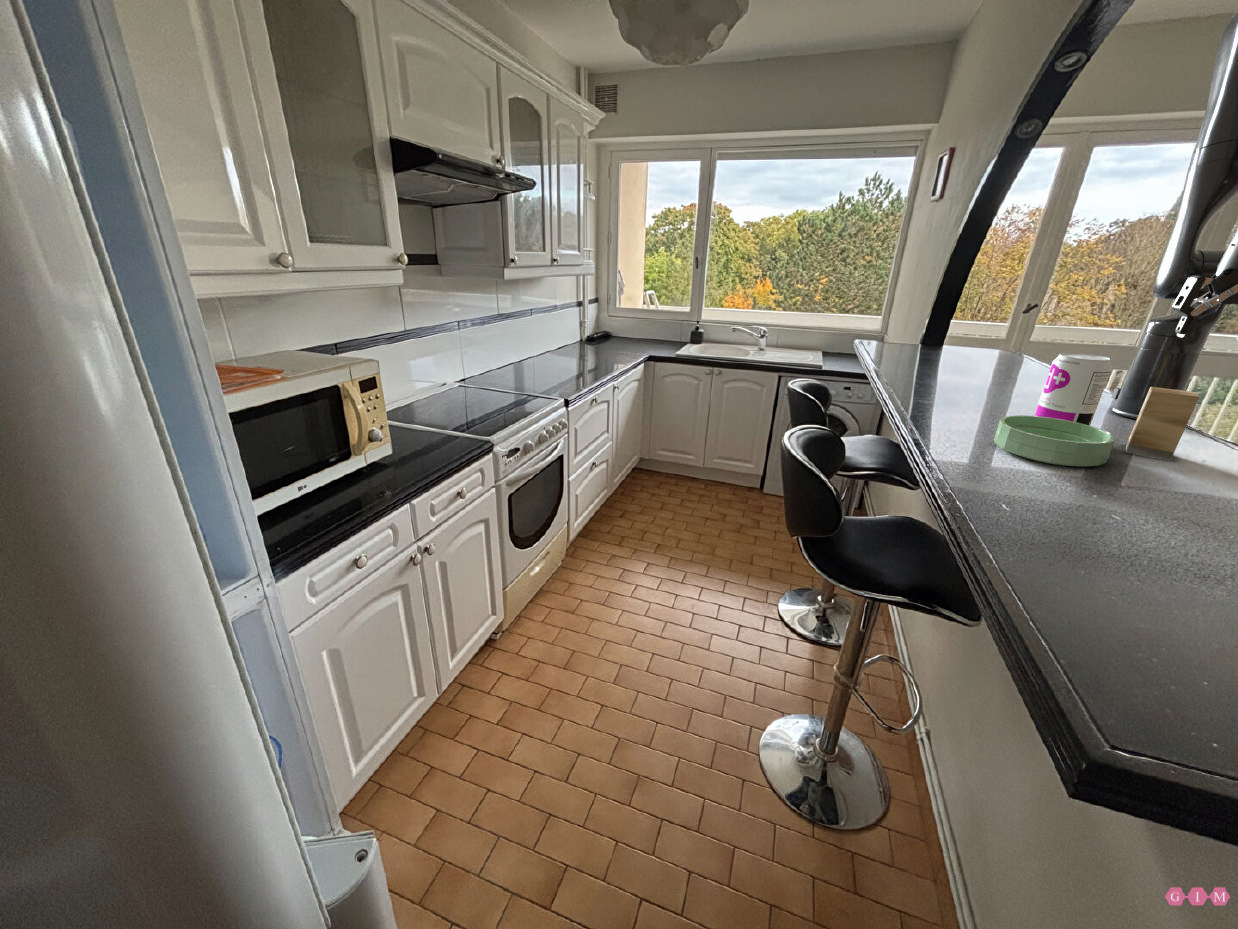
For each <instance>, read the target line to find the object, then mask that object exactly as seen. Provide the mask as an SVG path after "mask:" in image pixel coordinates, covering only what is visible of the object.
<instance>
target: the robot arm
mask: <svg viewBox="0 0 1238 929" xmlns="http://www.w3.org/2000/svg"><path fill="white" fill-rule="evenodd" d="M1184 180H1185V181H1184V185H1183V189H1182V194H1181V197H1180V201H1179V205H1178V208H1177V212H1176V214H1175V218H1174V221H1173V224H1172V227H1171V230H1170V233H1169V235H1168V238H1167V240H1166V243H1165V245H1164V248H1163V250H1162V254H1161V256H1160V259H1159V261H1158V264H1157V267H1156V269H1155V274H1154V275H1153V276H1154V277H1153V280H1152V286H1151V287H1152V288H1151V289H1152V294H1153V295H1154V297H1155V298H1157V299H1160V300H1173V301H1174V300H1175V301H1174V302H1173V304H1172V305H1171V309H1172V310H1173V311H1176V312H1173V313H1170V314H1165V315H1162V316H1157V317H1153V318H1151V319H1149V320H1148V322H1147V323H1146V325H1145V327H1144V331H1143V332H1142V336H1141V338H1140V341H1139V343H1138V346H1137V348H1136V351H1135V354H1134V356H1133V359H1132V361H1131V363H1130V366H1129V369H1128V371H1127V373H1126V376H1125V379H1124V381H1123V383H1122V387H1114V389H1113V392H1112V394H1111V398H1112V399H1113V400H1116V401H1115V404H1114V406H1113V407H1112V410H1111V412H1112V413H1113V414H1115V415H1118V416H1121V417H1125V418H1129V419H1134V420H1137V418H1138V416H1139V413H1140V411H1141V408H1142V406H1143V404H1144V401H1145V399H1146V396H1147V394H1148V392H1149V389H1150V387H1157V388H1165V389H1173V390H1182V391H1186V389H1187V386H1188V384H1189V381H1190V379H1191V377H1192V375H1193V373H1194V370H1195V368H1196V366H1197V364H1198V361H1199V359H1200V357H1201V354H1202V352H1203V350H1204V347H1205V345H1206V343H1207V340H1208V338H1209V336H1210V334H1211V332H1212V330H1213V329H1214V327H1215V326H1216V325H1217V323H1218V322H1219V321H1220V318H1221V316H1222V315H1223V313H1224V310H1225V309H1226V307H1227V305H1228V306H1229V305H1236V306H1238V227H1237V228H1236V230H1235V232H1234V234H1233V236H1232V238H1231V240H1230V242H1229V244H1228V246H1227V248H1226V249H1197V245H1198V242H1199V239H1200V238H1201V235H1202V233H1203V231H1204V230H1205V228H1206V226H1207V225H1208V223H1209V222H1210V221H1211V220H1212V219H1213V218H1214V217H1215V216H1216V214H1217V213H1219V212H1220V211H1221V210H1222V209H1223V207H1225V206H1227V204H1228V203H1229V202H1230V201H1231V200H1233V199H1234V198H1235V197H1236V196H1237V195H1238V9H1237V10H1236V11H1235V13H1233V15H1232V16H1231V17H1230V19H1229V20H1228V22H1227V24H1226V26H1225V28H1224V30H1223V32H1222V34H1221V37H1220V40H1219V43H1218V46H1217V51H1216V54H1215V58H1214V64H1213V70H1212V75H1211V80H1210V87H1209V93H1208V97H1207V102H1206V107H1205V112H1204V116H1203V119H1202V122H1201V126H1200V129H1199V133H1198V134H1197V139H1196V142H1195V145H1194V147H1193V151H1192V154H1191V158H1190V162H1189V165H1188V169H1187V172H1186V177H1185V179H1184ZM1236 342H1238V336H1237V338H1236Z"/></svg>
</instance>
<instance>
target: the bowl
mask: <svg viewBox="0 0 1238 929" xmlns="http://www.w3.org/2000/svg"><path fill="white" fill-rule="evenodd" d="M993 438H994V439H993V442H994V444H995V445H996V446H998V448H1001V449H1003V450H1005V451H1007V452H1009V453H1012V454H1014V455H1016V456H1018V457H1021V458H1023V459H1026V460H1027V459H1028V460H1032V461H1035V462H1040V463H1044V464H1050V465H1054V466H1063V467H1097V466H1101V465H1104V464H1106V463H1107V461H1108V459H1109V456H1110V454H1111V451H1112V449H1113V446H1114V444H1115V442H1116V437H1115V436H1114V435H1113V434H1112V433H1111V432H1108V431H1106V430H1104V429H1101V428H1098V427H1095V426H1092V425H1090V426H1089V425H1086V424H1081V423H1077V422H1072V421H1068V420H1062V419H1056V418H1049V417H1040V416H1035V415H1024V414H1022V415H1021V414H1020V415H1017V414H1016V415H1007V416H1003V417H1001V418H1000V420H999V421H998V425H997V429H996V431H995V434H994V437H993Z"/></svg>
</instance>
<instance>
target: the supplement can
mask: <svg viewBox="0 0 1238 929" xmlns="http://www.w3.org/2000/svg"><path fill="white" fill-rule="evenodd" d="M1112 370H1113V367H1112V364H1111V358H1110V357H1107V356H1102V355H1096V354H1087V353H1076V352H1075V353H1074V352H1062V353H1061V352H1060V353H1059V354H1058V355H1057V357H1056V358H1055V359H1054V360H1052V363H1051V366H1050V369H1049V371H1048V374H1047V378H1046V379H1045V383H1044V386H1043V389H1042V393H1041V395H1040V398H1039V400H1038V404H1037V407H1036V410H1035V413H1034V416H1040V417H1049V418H1056V419H1062V420H1068V421H1072V422H1077V423H1081V424H1086V425H1089V426H1092V425H1091V424H1092V421H1093V419H1094V416H1095V414H1096V411H1097V409H1098V406H1099V403H1100V402H1101V398H1102V395H1103V392H1104V390H1105V389H1106V385H1107V383H1108V381H1109V380H1108V379H1109V377H1110V375H1111V372H1112Z"/></svg>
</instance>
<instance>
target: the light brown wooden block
mask: <svg viewBox="0 0 1238 929" xmlns="http://www.w3.org/2000/svg"><path fill="white" fill-rule="evenodd" d="M1199 399H1200V396H1199V394H1198V392H1197V391H1189V390H1185V391H1182V390H1173V389H1165V388H1157V387H1150V389H1149V392H1148V394H1147V396H1146V399H1145V401H1144V404H1143V406H1142V408H1141V411H1140V413H1139V416H1138V418H1137V419H1135V420H1136V421H1135V423H1134V425H1133V428H1132V430H1131V432H1130V434H1129V437H1128V440H1127V442H1126V444H1125V453H1126V454H1131V455H1137V456H1142V457H1148V458H1152V459H1158V460H1162V461H1163V460H1164V461H1169V462H1170V461H1171V460H1172V458H1173V456H1174V454H1175V451H1176V449H1177V447H1178V445H1179V443H1180V440H1181V438H1182V436H1183V434H1184V432H1185V430H1186V427H1187V425H1188V423H1189V421H1190V419H1191V418H1192V417H1191V416H1192V414H1193V412H1194V410H1195V408H1196V406H1197V404H1198V402H1199Z"/></svg>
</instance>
